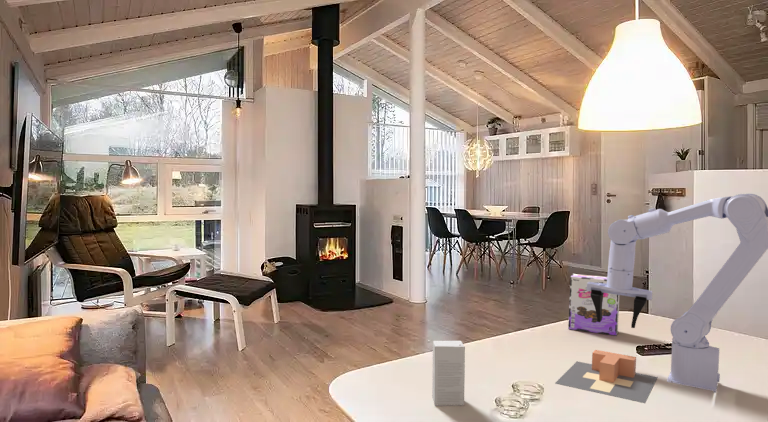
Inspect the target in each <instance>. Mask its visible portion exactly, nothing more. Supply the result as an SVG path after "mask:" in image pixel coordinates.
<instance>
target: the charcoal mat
mask: <svg viewBox="0 0 768 422" xmlns="http://www.w3.org/2000/svg"><path fill="white" fill-rule="evenodd" d="M599 373H600V371H596V370H592V363H588V362H581V361H575V362H574V363H573V364H572V366H570V368H569V369H568V370H566V371H565V373H563V375H562V376H560V377H559V378H558V379H557V380H556V381H555V382H554V384H555V385H561V386H565V387H570V388H574V389H579V390H583V391H588V392H592V393H597V394H600V395H606V396H611V397H615V398H619V399H622V400H623V399H624V400H628V401H632V402H638V403H641V404H646V402H647V400H648V399H649V396H650V394H651V391H652V389H653V387H654V386H655V383H656V381H657V380H658V376H656V375H650V374H644V373H639V372H636V374H635V376H634V377H633V378H632V377H627V376H622V375H619V376H618V377H617V379H616V380H615V381H614V383H612V382H608V381H603V380H599Z"/></svg>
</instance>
